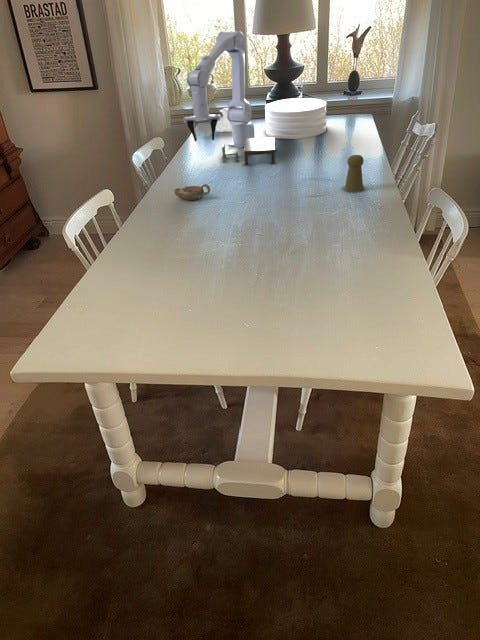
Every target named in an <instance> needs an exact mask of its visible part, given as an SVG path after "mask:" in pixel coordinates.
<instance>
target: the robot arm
mask: <svg viewBox="0 0 480 640" xmlns="http://www.w3.org/2000/svg"><path fill="white" fill-rule="evenodd" d="M215 41H216V42H215V43H214V45H213V47H212V48H211V50H210V52H209V54H208V55H207V54H206V55H203V56H201V59H200V61H198V63H197V64H196V66H195V68H194V69H191V70H190V71H189V72H188V73H187V76H186V83H187V85H188V86H189V91H190V92H191V99H192V107H193V115H189V116H183V119H182V120H183V123H184V124H186V125H187V127H188V130H190V133H191V134H192V137H193V141H194V142H197V141H198V135H197V130H196V123H198V122H199V123H201V122H209V123H210V129H211V141H215V134H216V125H217V122H218V121H220V120H221V118H222V116H221V115H222V114H210V111H209V102H208V91H207V85H208V84H209V80H210V78H211V74H212V73H213V72H214V70H215V69H216V67H217V63H216V62H217V61H218V60H219V59H220V58H221V56H222V55H223V54H224V53H226V54H227V55H228V56H229V58H231V95H232V97H231V98H232V99H231V100H230V101H229V102H228V104H227V108H228V111H227V119H228V121H229V122H230V124H232V131H231V133H232V142H231V143H229V144H228V145H229V146H232V147H237V148H244V147H245V141H246V139H252V138H256V136H255V126H254V123H253V122H251V121H252V118H253V113H252V107H251V103H249V101H247V100H246V72H245V71H246V67H245V66H246V61H245V60H246V59H245V58H246V57H245V54H246V47H247V46H246V36H245V35H244V33H243V32H242V31H241V30H238V31H220V32H218V34H217V36H216V37H215Z"/></svg>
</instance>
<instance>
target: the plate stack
mask: <svg viewBox="0 0 480 640" xmlns="http://www.w3.org/2000/svg"><path fill="white" fill-rule="evenodd" d="M327 107H328V106H327V101H326V100H324V99H320V98H313V97H312V98H311V97H304V98H303V97H299V98H296V97H295V98H285V99H280V100H275V101H271V102H269V103H267V104H266V105H264V111H265V112H264V114H265V134H266V135H267V136H269V137H275V139H281V140H282V139H283V140H298V139H307V138H312V137H317V136H319V135H322V134H324V133H325V132H327V131H326V130H327Z"/></svg>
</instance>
